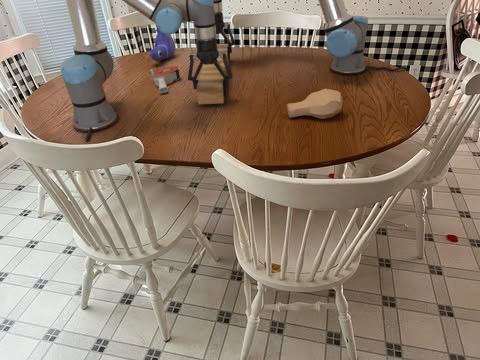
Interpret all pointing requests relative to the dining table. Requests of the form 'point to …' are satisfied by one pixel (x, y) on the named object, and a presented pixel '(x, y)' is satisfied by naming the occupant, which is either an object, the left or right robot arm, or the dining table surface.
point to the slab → (212, 81)
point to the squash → (317, 105)
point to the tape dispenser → (164, 77)
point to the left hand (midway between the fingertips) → (212, 96)
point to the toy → (162, 47)
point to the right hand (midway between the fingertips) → (218, 60)
